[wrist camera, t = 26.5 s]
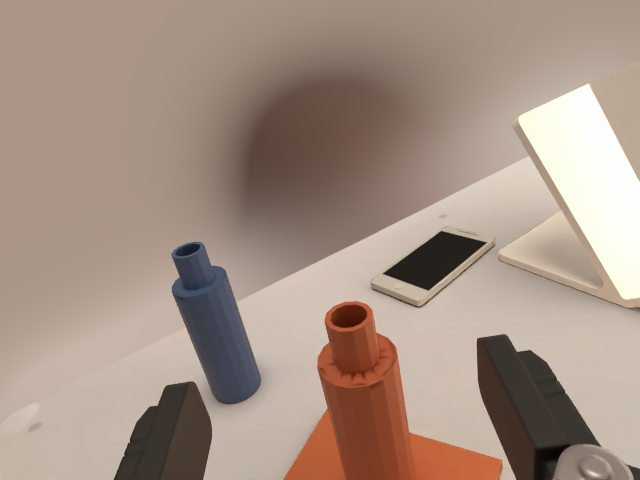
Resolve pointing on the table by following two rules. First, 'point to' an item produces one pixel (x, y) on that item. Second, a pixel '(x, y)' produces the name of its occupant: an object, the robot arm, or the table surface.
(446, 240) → the smartphone
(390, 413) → the terracotta bottle
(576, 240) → the tablet stand
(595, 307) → the table surface
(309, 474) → the terracotta mat
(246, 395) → the blue bottle
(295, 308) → the table surface
